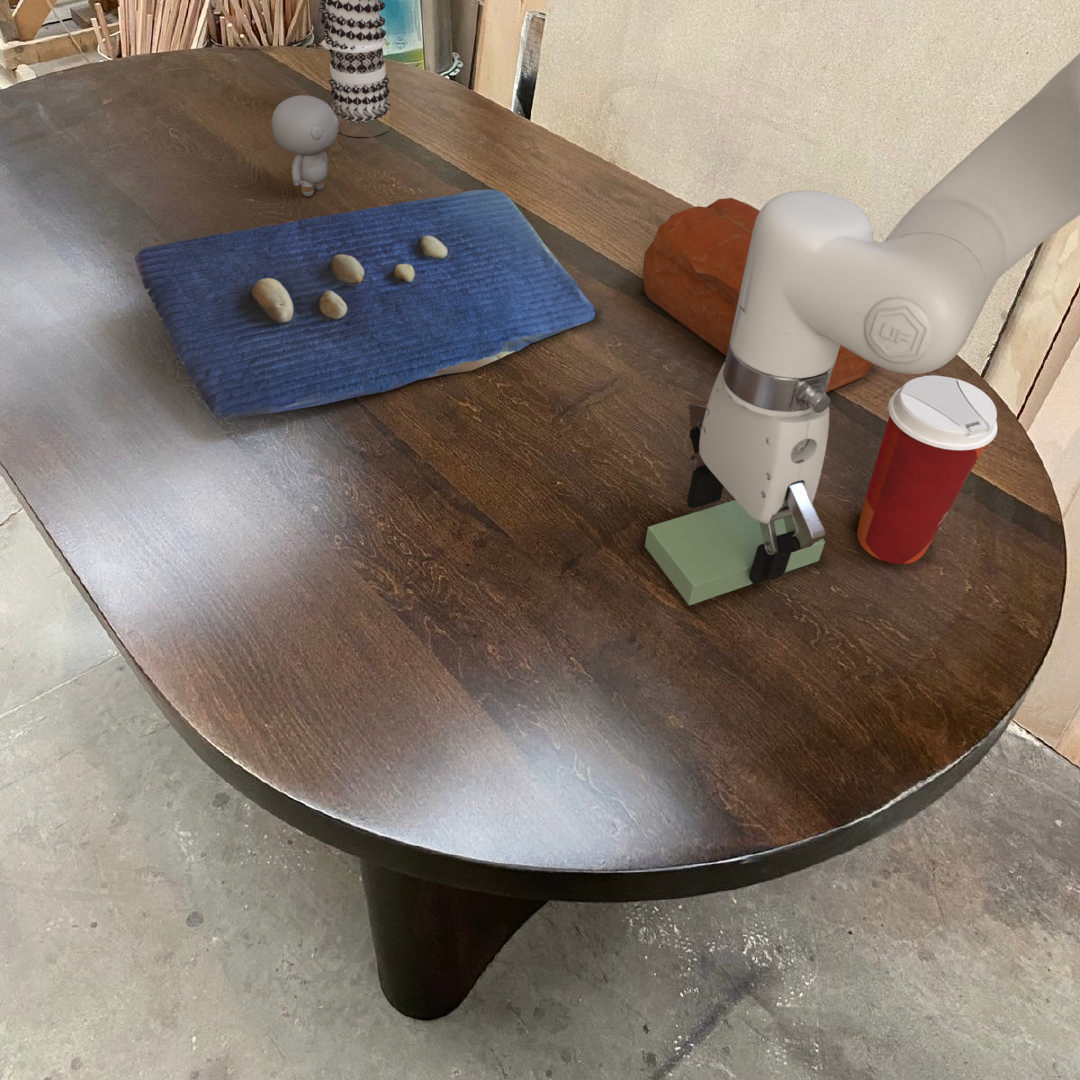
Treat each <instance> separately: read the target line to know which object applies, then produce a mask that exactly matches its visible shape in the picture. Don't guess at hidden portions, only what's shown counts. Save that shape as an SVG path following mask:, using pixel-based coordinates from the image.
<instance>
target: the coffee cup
mask: <svg viewBox="0 0 1080 1080" xmlns="http://www.w3.org/2000/svg"><path fill="white" fill-rule="evenodd" d="M887 409H888V414H889V416H888V419H887V423H886V426H885V430H884V433H883V437H882V439H881V443H880V447H879V450H878V453H877V457H876V460H875V464H874V467H873V471H872V473H871V478H870V481H869V485H868V489H867V492H866V495H865V498H864V502H863V506H862V509H861V513H860V517H859V521H858V525H857V528H856V529H857V530H856V537H857V540H858V543H859V544H860V546H861V547H862V548H863V549H864V551H865V552H867V553H868V554H869V555H871V556H872V557H873V558H876V559H878V560H879V561H882V562H885V563H888V564H895V565H906V564H907V565H909V564H912V563H915V562H918V561H919V560H920V559H921V558H922V557H923V556H924V555H925V553H926V551H927V550H928V548H929V547H930V546H931V543H932V542H933V540H934V538H935V536H936V534H937V533H938V531H939V529H940V528H941V526H942V524H943V522H944V521H945V518H946V517H947V515H948V513H949V511H950V510H951V508H952V506H953V504H954V503H955V501H956V499H957V497H958V495H959V494H960V491H961V490H962V488H963V486H964V484H965V483H966V481H967V479H968V477H969V475H970V473H971V472H972V470H973V468H974V466H975V464H976V463H977V461H978V459H979V458H980V455H981V454H982V452H983V450H984V448H985V446H987V445H989V444H990V443H991V442H993V441H994V439H995V437H996V436H997V433H998V422H997V416H998V411H997V408H996V404H995V403H994V401H993V400H992V399H991V397H990V396H989V395H988V394H987V393H986V392H984V391H983V390H981V389H980V388H978V387H977V386H975V385H973V384H971V383H969V382H967V381H964V380H962V379H959V378H954V377H949V376H943V375H934V374H933V375H923V376H919V377H915V378H913V379H911V380H909V381H907V382H905V383H904V384H903V385H902V386H901V387H900V388H897V389H896V390H895V391H894V393H893V394H892V395H891V397H890V398H889V401H888V406H887Z"/></svg>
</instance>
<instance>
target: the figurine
mask: <svg viewBox="0 0 1080 1080" xmlns="http://www.w3.org/2000/svg"><path fill="white" fill-rule="evenodd" d="M334 112H335V111H334V110H333V108H332V106H330V105H329V104H328V103H327V102H326V101H324V100H322V99H321V98H318V97H316V96H313V95H312V96H311V95H305V94H302V95H301V94H300V95H295V96H291V97H288V98H286V99H284V100H283V101H281V102H280V103H279V104H278V105H277V106H276V107H275V109H274V110H273V113H272V115H271V130H272V134H273V137H274V139H275V142H276V143H277V144H278V146H280V147H281V149H283V150H284V151H286V152H287V153H291V154H295V157H294V159H293V161H292V165H291V180H292V182H293V185H294V186H296V187H300V185H301V186H303V187H312V186H313V185H314V184H319V183H321V182H323V181H324V180H325V181H326V178H327V176H328V168H329V159H328V158H329V157H328V155H327V153H326V152H325V151H327V150H328V149H330V148H331V146H333V145H334V144H335V142H336V140H337V138H338V133H339V132H338V126H339V121H338V118H337V116H336V115H335V113H334ZM325 183H326V182H325ZM325 183H324V184H322V185H314V190H313V191H311V192H303V191H301V193H302V195H303V196H304V197H305V198H310V197H312V196H313V195H314V192H315V190H316V191H321V190H322V189H324V187H325Z"/></svg>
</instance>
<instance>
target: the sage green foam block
mask: <svg viewBox="0 0 1080 1080" xmlns="http://www.w3.org/2000/svg"><path fill="white" fill-rule="evenodd" d="M782 507H783V506H781V508H782ZM774 525H775V530H776V535H777V536H778V535H781V534H784V533H786V528H785V523H784V519H783V518H781V519H778V520H775V521H774ZM761 544H764V542H763V537H762V532H761V528H760V523H759V521H757V520H756V519H754V518H753V517H752V516H750V515H749V514H748V513H747V512H746V510H745V509H744V508H743V507H742V506H741V505H740V504H739V503H738V502H737V501H736V499H734V500H730V501H726V502H724V503H720V504H717V505H713V506H710V507H707V508H704V509H701V510H698V511H694V512H691V513H687V514H685V515H681V516H678V517H675V518H672V519H669V520H666V521H662V522H659V523H656V524H652V525H649V526H647V531H646V536H645V542H644V547H645V549H646V550H647V552H648V553H649V554H650V555H651V557H652V558H653V560H654V562H656V563H657V565H658V566H659V568H660V569H661V570H662V572H663V573H664V575H665V576H666V577H667V578H668V580H669V581H670V582H671V584H672V585H673V586H674V588H675V589H676V590H677V592H678V593H679V594H680V596H681V597H682V598H683V600H684V601H685V602H686V603H687V605H688V606H691V605H692V606H693V605H695V604H698V603H701V602H704V601H707V600H709V599H712V598H717V597H718V596H721V595H725V594H727V593H730V592H733V591H736V590H739V589H741V588H744V587H747V586H750V585H754V584H753V583H752V582H751V581H750V579H749V575H750V571H751V568H752V564H753V561H754V557H755V554H756V550H757V547H758V546H759V545H761ZM825 545H826V541H825V539H824V538H822V539H821V540H819V541H818V542H816V543H814V544H813V545H812V546H811V547H808V548H805V549H802V550H799V551H796V552H793V553H791V555H790V558H789V562H788V565H787V568H786V571H785V572H784V574H785V573H788V572H791V571H794V570H796V569H800V568H802V567H805V566H808V565H810V564H814V563H817V562H819V561H820V558H821V556H822V552H823V549H824V547H825Z"/></svg>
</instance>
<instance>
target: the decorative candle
mask: <svg viewBox="0 0 1080 1080" xmlns="http://www.w3.org/2000/svg"><path fill="white" fill-rule="evenodd" d="M385 8H386V4H385V2H384V1H382V0H320V2H319V7H318V10H319V12H320V13H321V18H320V23H321V24H322V27H323V28H324V32H323V39H324V43H325V46H326V47H327V48H328V49H329V57H330V63H329V70H330V78H329V80H328V83H329V85H330V87H331V90H330V91H329V92H330V95H331V97H332V99H333V100H332V101H331V108H332V110H333V111H334V112H336V113H337V114H336V116H340V119H347V122H349V121H355V122H356V123H358V122H361V121H364V122H368V121H370V120H375V119H377V118H381V117H382V116H383V115H386V113H387V111H388V110H390V107H391V105H392V103H391V101H390V98H389V97H388V96H389V94H390V93H391V92H390V91H391V90H390V89H389V87H388V84H389V82H390V79H389V77H388V75H387V70H386V63H385V62H384V50H383V48H384V46H385V45H386V42H387V41H386V39H385V37H386V35H387V31H386V30H384V29H383V28H382V27H383V26H384V25H385V24H386V19H385V18H384V17H383V16H382V15H380V12H381V11H382V10H384V9H385Z"/></svg>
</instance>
